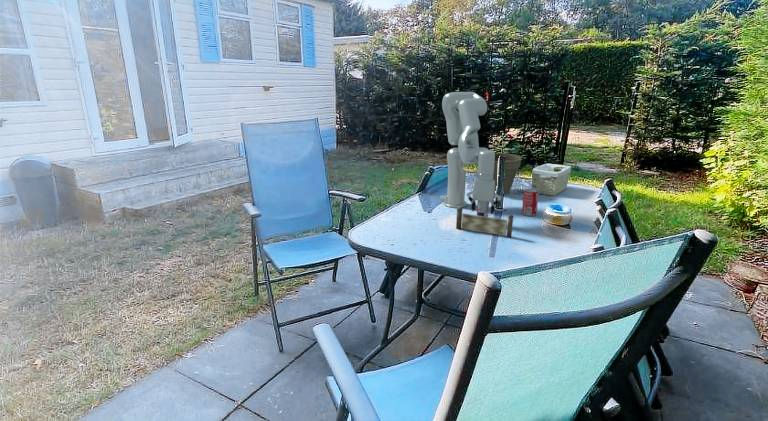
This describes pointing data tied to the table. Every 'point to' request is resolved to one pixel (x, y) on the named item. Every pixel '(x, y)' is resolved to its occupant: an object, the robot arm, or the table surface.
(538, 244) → the table surface
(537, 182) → the storage basket
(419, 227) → the table surface
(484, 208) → the energy drink
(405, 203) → the table surface
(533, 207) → the soda can
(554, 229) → the table surface
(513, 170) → the plant pot
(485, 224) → the gate
